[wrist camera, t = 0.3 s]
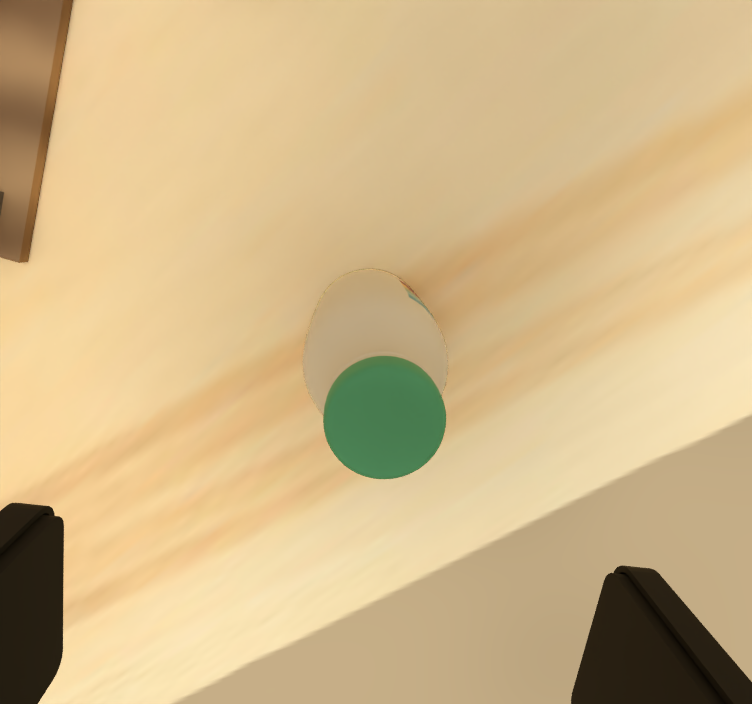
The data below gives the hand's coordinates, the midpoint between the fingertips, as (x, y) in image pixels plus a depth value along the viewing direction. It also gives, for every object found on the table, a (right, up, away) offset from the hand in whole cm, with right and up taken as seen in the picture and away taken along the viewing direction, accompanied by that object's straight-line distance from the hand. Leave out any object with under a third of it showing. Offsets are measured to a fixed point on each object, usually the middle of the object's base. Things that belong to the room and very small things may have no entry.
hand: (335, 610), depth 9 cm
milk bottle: (0, +7, +30) cm, 31 cm away
